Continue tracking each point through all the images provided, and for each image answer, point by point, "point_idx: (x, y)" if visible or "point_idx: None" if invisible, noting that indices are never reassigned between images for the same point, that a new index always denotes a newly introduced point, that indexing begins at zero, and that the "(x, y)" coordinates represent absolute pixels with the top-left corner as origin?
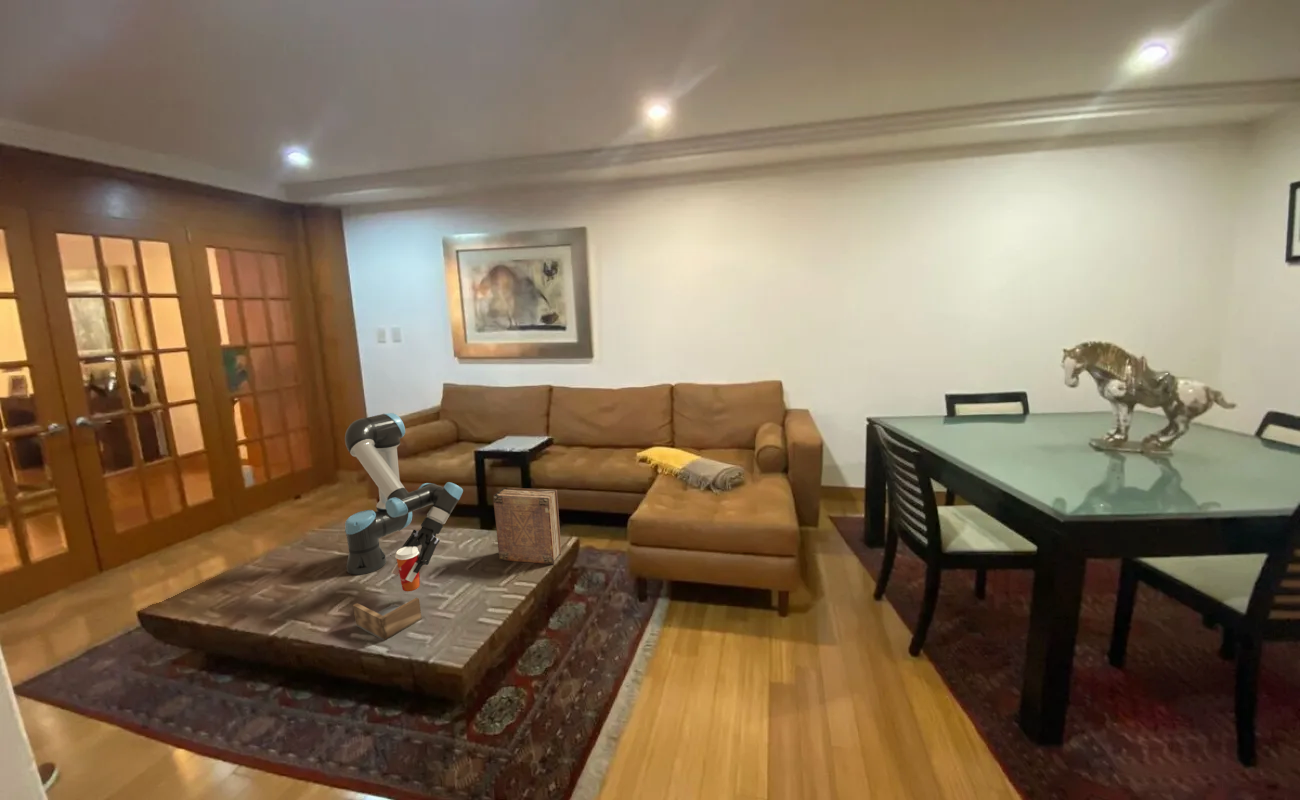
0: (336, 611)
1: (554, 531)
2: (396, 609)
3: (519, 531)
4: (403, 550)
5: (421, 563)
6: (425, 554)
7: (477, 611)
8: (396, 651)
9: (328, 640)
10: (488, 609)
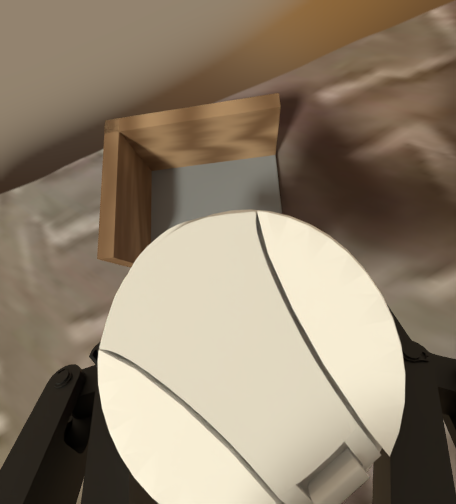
0: (412, 140)
1: None
2: (111, 174)
3: None
4: (283, 323)
5: (95, 365)
6: (28, 461)
7: (26, 392)
8: (84, 166)
9: (268, 86)
10: (2, 420)
